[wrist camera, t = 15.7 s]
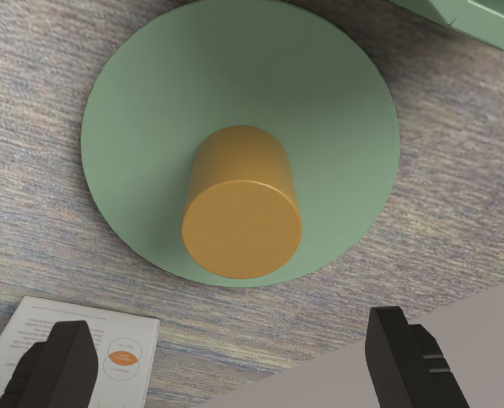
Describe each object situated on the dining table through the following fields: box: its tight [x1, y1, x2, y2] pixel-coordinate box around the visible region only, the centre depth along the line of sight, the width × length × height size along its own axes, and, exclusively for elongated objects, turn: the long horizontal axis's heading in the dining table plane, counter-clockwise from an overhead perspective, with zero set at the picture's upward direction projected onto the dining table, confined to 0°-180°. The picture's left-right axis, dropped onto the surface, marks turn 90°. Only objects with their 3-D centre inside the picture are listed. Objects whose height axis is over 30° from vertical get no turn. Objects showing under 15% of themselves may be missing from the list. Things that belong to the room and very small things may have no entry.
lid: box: [80, 0, 400, 288], centre depth 19 cm, size 14×14×6 cm
